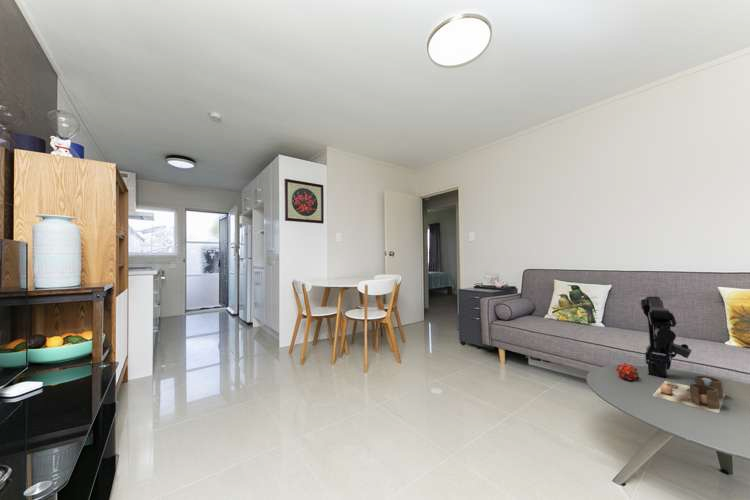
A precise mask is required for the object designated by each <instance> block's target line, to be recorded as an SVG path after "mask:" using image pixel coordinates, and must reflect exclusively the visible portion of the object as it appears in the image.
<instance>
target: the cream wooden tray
mask: <svg viewBox="0 0 750 500" xmlns="http://www.w3.org/2000/svg"><path fill="white" fill-rule="evenodd" d="M701 378H708V379H710V380H711V386H707V385H704V380H702V379H701ZM694 380H695V383H690V384H689V385H687V384H682V383H677V382H672V381H669V380H668V381H667V380H664V382H662V383H661V385H668V386H670V387H671V388H672V390H673V392H672V394H665V393H663V392H662V391H661V390H660V386H659V387H658V388H657V390H656V391H655V392H654V393H653V394H652V397H656V398H659V399H663V400H667V401H671V402H675V403H679V404H682V405H687V406H689V407H690V406H691V407H695V408H698V409H701V410H705V411H710V412H712V413H716V414H717V413H718V414H719V413H720V410H721V407H722V404H723V402H724V399H725V396H726V394H725V393H724V392H723V383H722V382H723V381H722V380H721V379H719V378H716V377H712V376H708V375H695V377H694ZM700 394H705V395H707V403H708V405H705V404H702V403H701V402H700V397H699V395H700Z"/></svg>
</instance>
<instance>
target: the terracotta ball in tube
mask: <svg viewBox="0 0 750 500" xmlns="http://www.w3.org/2000/svg"><path fill="white" fill-rule="evenodd" d="M699 397H700V402H701V403H702V404H705V405H708V403H707V395H705V394H700V395H699Z"/></svg>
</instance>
